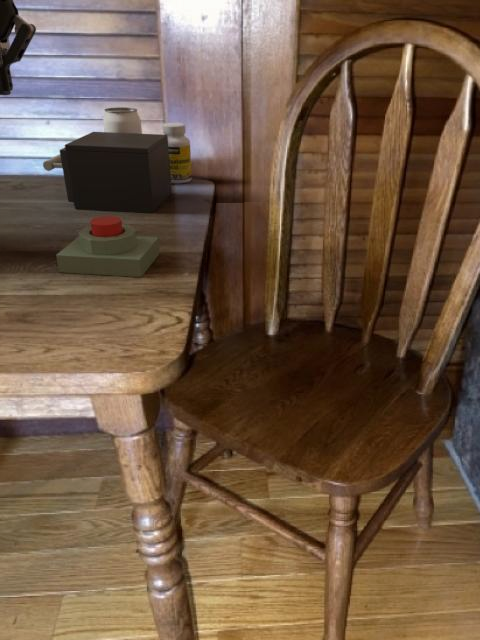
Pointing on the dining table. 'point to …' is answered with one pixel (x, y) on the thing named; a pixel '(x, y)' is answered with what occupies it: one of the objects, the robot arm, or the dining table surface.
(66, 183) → the drawer
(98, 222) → the button
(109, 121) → the can
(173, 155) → the supplement bottle
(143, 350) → the dining table surface
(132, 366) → the dining table surface
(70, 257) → the control block
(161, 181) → the dark grey storage box
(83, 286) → the dining table surface
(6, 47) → the robot arm
